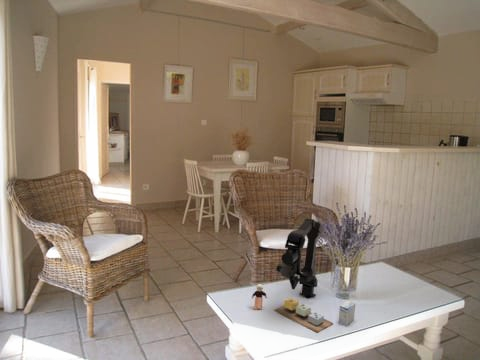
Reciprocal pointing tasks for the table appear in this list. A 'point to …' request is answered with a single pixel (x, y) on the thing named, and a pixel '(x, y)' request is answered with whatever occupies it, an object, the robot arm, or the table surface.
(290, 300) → the mustard tile
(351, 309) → the medicine box
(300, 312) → the sage tile
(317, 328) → the button board
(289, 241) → the robot arm
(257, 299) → the grandmother figurine
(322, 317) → the slate tile
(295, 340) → the table surface
